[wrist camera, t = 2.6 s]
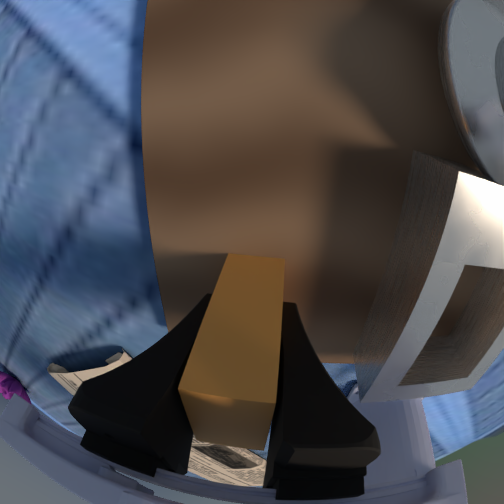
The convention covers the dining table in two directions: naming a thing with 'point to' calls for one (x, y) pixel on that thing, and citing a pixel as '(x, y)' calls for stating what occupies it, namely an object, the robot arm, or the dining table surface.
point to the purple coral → (11, 387)
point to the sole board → (291, 148)
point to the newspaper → (202, 453)
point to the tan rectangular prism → (237, 355)
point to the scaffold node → (446, 232)
